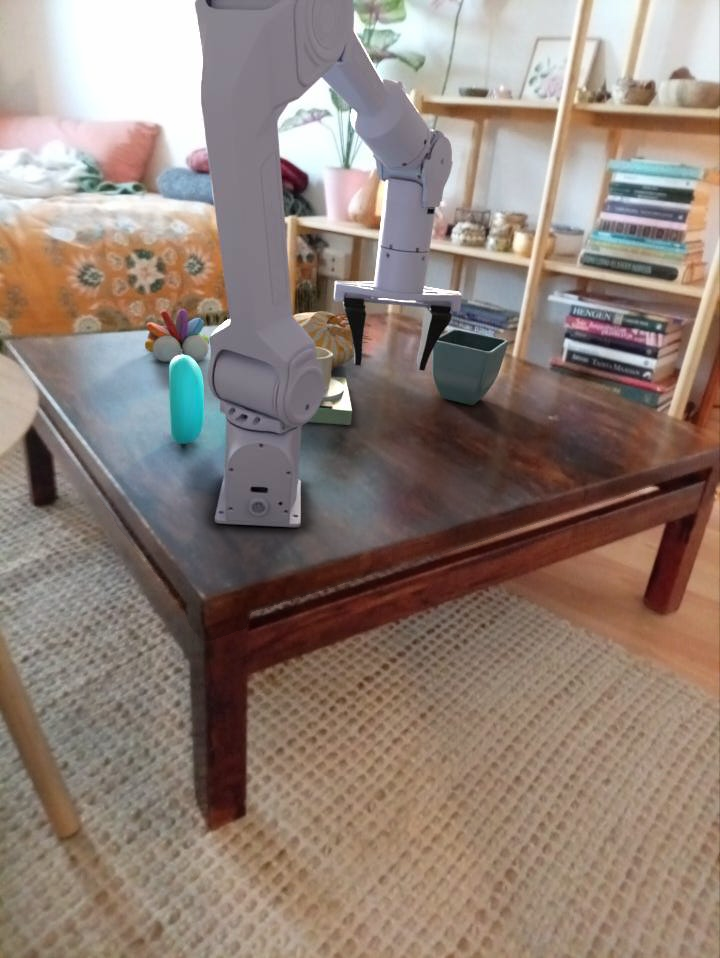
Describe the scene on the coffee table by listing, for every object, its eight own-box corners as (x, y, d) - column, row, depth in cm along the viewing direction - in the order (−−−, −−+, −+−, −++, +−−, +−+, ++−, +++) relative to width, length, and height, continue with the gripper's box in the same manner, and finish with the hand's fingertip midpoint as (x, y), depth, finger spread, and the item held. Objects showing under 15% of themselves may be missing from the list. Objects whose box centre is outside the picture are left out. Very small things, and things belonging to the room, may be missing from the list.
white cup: (330, 393, 93) (333, 360, 91) (287, 390, 93) (289, 356, 91) (328, 379, 98) (331, 347, 96) (287, 376, 98) (289, 344, 96)
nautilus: (342, 344, 126) (405, 372, 118) (248, 353, 111) (312, 386, 103) (350, 300, 123) (415, 326, 114) (254, 303, 108) (321, 333, 99)
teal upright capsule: (263, 457, 80) (267, 372, 75) (171, 458, 77) (170, 371, 72) (252, 423, 88) (255, 345, 84) (169, 423, 85) (168, 343, 81)
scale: (350, 425, 91) (352, 406, 90) (265, 419, 90) (265, 400, 89) (344, 391, 103) (346, 373, 101) (269, 385, 101) (269, 368, 100)
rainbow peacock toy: (140, 348, 110) (139, 302, 107) (202, 347, 114) (202, 302, 111) (150, 365, 104) (149, 316, 100) (215, 363, 108) (216, 316, 104)
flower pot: (422, 398, 103) (431, 338, 99) (444, 384, 110) (453, 327, 106) (479, 413, 100) (491, 352, 96) (498, 397, 107) (509, 340, 103)
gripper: (460, 248, 82) (442, 360, 89) (337, 236, 81) (327, 351, 87) (473, 258, 76) (453, 378, 82) (340, 245, 75) (329, 368, 81)
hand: (389, 365), depth 84 cm, fingers open, 7 cm apart
